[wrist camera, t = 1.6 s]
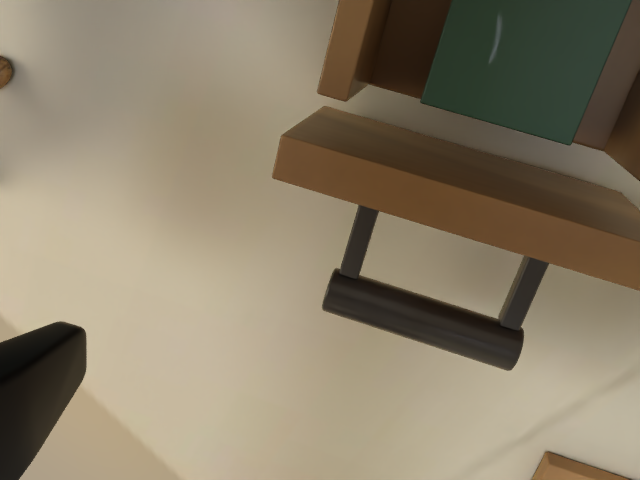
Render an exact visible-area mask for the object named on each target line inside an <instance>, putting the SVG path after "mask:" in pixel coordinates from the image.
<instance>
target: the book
mask: <svg viewBox="0 0 640 480" xmlns="http://www.w3.org/2000/svg"><path fill="white" fill-rule="evenodd" d="M631 2H632V0H452V1H451V4H450V7H449V10H448V14H447V17H446V20H445V23H444V26H443V30H442V33H441V36H440V39H439V42H438V46H437V49H436V52H435V55H434V58H433V62H432V65H431V68H430V71H429V74H428V78H427V81H426V84H425V87H424V90H423V94H422V97H421V100H420V102H421V103H423V104H426V105H430V106H433V107H437V108H440V109H444V110H447V111H451V112H454V113H458V114H461V115H465V116H468V117H472V118H475V119H479V120H482V121H485V122H489V123H492V124H496V125H499V126H503V127H506V128H510V129H513V130H517V131H520V132H524V133H527V134H531V135H534V136H538V137H541V138H545V139H548V140H552V141H555V142H559V143H562V144H566V145H571V144H572V141H573V139H574V137H575V134H576V132H577V130H578V127H579V125H580V123H581V120H582V118H583V115H584V113H585V111H586V108H587V106H588V104H589V101H590V99H591V97H592V94H593V92H594V89H595V87H596V85H597V82H598V80H599V78H600V75H601V73H602V71H603V68H604V66H605V63H606V61H607V59H608V56H609V54H610V52H611V49H612V47H613V44H614V42H615V40H616V37H617V35H618V33H619V30H620V28H621V26H622V23H623V21H624V18H625V16H626V14H627V11H628V9H629V7H630V4H631Z"/></svg>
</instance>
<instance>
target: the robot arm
mask: <svg viewBox="0 0 640 480" xmlns="http://www.w3.org/2000/svg"><path fill="white" fill-rule="evenodd" d="M85 372H86V332H85V330H84V329H83V328H82V327H79V326H76V325H73V324H70V323H66V322H56V323H53V324H50V325H47V326H44V327H42V328H39V329H36V330H33V331H31V332H28V333H25V334H22V335H20V336H17V337H14V338H12V339H9V340H6V341H3V342H1V343H0V480H19V479H20V477H21V476H22V475H23V473H24V472H25V470H26V469H27V468H28V466H29V465H30V464H31V462H32V461H33V459H34V458H35V456H36V455H37V453H38V452H39V450H40V448H41V447H42V445H43V444H44V442H45V440H46V439H47V437H48V436H49V434H50V432H51V431H52V429H53V427H54V426H55V424H56V423H57V421H58V419H59V418H60V416H61V415H62V413H63V411H64V410H65V408H66V406H67V405H68V403H69V402H70V400H71V398H72V397H73V395H74V393H75V392H76V390H77V389H78V387H79V386H80V384H81V382H82V380H83V378H84V376H85Z"/></svg>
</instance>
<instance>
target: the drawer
mask: <svg viewBox="0 0 640 480" xmlns="http://www.w3.org/2000/svg"><path fill="white" fill-rule="evenodd" d="M451 1H452V0H339V3H338V7H337V11H336V15H335V19H334V24H333V28H332V32H331V36H330V40H329V44H328V48H327V52H326V56H325V60H324V65H323V69H322V73H321V77H320V81H319V85H318V89H317V93H318V94H320V95H324V96H327V97H331V98H334V99H338V100H341V101H345V102H346V101H348V100H349V99H350V98H352V97H353V96H354V95H356V94H357V93H358V92H359V91H361V90H362V89H363V88H364V87H366V86H367V85H368V84H370V85H373V86H377V87H380V88H384V89H387V90H391V91H394V92H398V93H401V94H405V95H408V96H412V97H415V98H419V99H421V97H422V94H423V90H424V87H425V84H426V81H427V78H428V74H429V71H430V68H431V65H432V62H433V58H434V55H435V52H436V49H437V46H438V42H439V39H440V36H441V33H442V30H443V26H444V23H445V20H446V17H447V14H448V10H449V7H450V4H451ZM572 142H573V143H576V144H580V145H583V146H587V147H590V148H594V149H597V150H601V151H604V152H605V153H606V154H608V155H609V156H610V157H611V158H612V159H614V160H615V161H616V162H617V163H618V164H620V165H621V166H622V167H623V168H624V169H626V170H627V171H628V172H629V173H630V174H632V175H633V176H634V177H635V178H636V179H638V180H639V181H640V0H632V2H631V4H630V7H629V9H628V11H627V14H626V16H625V18H624V21H623V23H622V26H621V28H620V30H619V33H618V35H617V37H616V40H615V42H614V44H613V47H612V49H611V52H610V54H609V56H608V59H607V61H606V63H605V66H604V68H603V71H602V73H601V75H600V78H599V80H598V82H597V85H596V87H595V89H594V92H593V94H592V97H591V99H590V101H589V104H588V106H587V108H586V111H585V113H584V115H583V118H582V120H581V123H580V125H579V127H578V130H577V132H576V134H575V137H574V139H573V141H572ZM272 178H273V179H277V180H280V181H283V182H286V183H290V184H293V185H296V186H299V187H303V188H306V189H309V190H312V191H316V192H319V193H322V194H325V195H329V196H332V197H335V198H339V199H342V200H345V201H348V202H352V203H355V204H358V205H359V206H358V210H357V213H356V217H355V220H354V223H353V227H352V230H351V234H350V237H349V241H348V244H347V247H346V251H345V254H344V258H343V261H342V264H341V268H340V269H339V268H335V269H334V271H333V273H332V275H331V278H330V281H329V284H328V287H327V290H326V293H325V297H324V300H323V304H322V310H324V311H326V312H329V313H332V314H335V315H338V316H341V317H344V318H348V319H351V320H354V321H357V322H360V323H363V324H366V325H369V326H372V327H375V328H378V329H381V330H384V331H387V332H390V333H394V334H397V335H400V336H403V337H406V338H409V339H412V340H415V341H418V342H421V343H424V344H427V345H430V346H433V347H436V348H439V349H443V350H446V351H449V352H452V353H455V354H458V355H461V356H464V357H467V358H470V359H473V360H476V361H479V362H482V363H485V364H489V365H492V366H495V367H498V368H501V369H504V370H507V371H509V370H512V369H513V368H514V366H515V365H516V363H517V361H518V359H519V356H520V354H521V350H522V347H523V341H524V330H523V328H522V327H521V325H522V323H523V321H524V319H525V316H526V314H527V312H528V310H529V307H530V305H531V303H532V301H533V298H534V296H535V294H536V291H537V289H538V287H539V285H540V282H541V280H542V278H543V276H544V273H545V271H546V269H547V267H548V264H549V263H550V264H554V265H557V266H560V267H564V268H567V269H570V270H573V271H577V272H580V273H583V274H586V275H590V276H593V277H596V278H599V279H603V280H606V281H609V282H612V283H616V284H619V285H622V286H625V287H629V288H632V289H635V290H639V291H640V211H639V210H638V209H637V208H636V207H635V206H634V205H633V204H632V203H631V202H630V201H629V200H628V199H627V198H626V197H625V196H624V195H623V194H622V193H621V192H618V191H615V190H612V189H608V188H605V187H601V186H598V185H594V184H591V183H588V182H584V181H581V180H577V179H574V178H570V177H567V176H564V175H560V174H557V173H553V172H550V171H546V170H543V169H540V168H536V167H533V166H529V165H526V164H523V163H519V162H516V161H512V160H509V159H505V158H502V157H499V156H495V155H492V154H488V153H485V152H481V151H478V150H475V149H471V148H468V147H464V146H461V145H457V144H454V143H451V142H447V141H444V140H440V139H437V138H433V137H430V136H427V135H423V134H420V133H416V132H413V131H409V130H406V129H403V128H399V127H396V126H392V125H389V124H385V123H382V122H379V121H375V120H372V119H368V118H365V117H361V116H358V115H355V114H351V113H348V112H344V111H341V110H337V109H334V108H331V107H327V106H324V107H322V108H321V109H319V110H318V111H316V112H315V113H313V114H312V115H310V116H309V117H307V118H306V119H305V120H303V121H302V122H300V123H299V124H297V125H296V126H294V127H293V128H291V129H290V130H288V131H287V132H285V133H284V134H283V135H282V136H281V139H280V143H279V147H278V152H277V156H276V161H275V165H274V169H273V174H272ZM379 211H381V212H384V213H387V214H391V215H394V216H397V217H400V218H404V219H407V220H410V221H414V222H417V223H420V224H423V225H427V226H430V227H433V228H436V229H440V230H443V231H446V232H449V233H453V234H456V235H459V236H462V237H466V238H469V239H472V240H475V241H479V242H482V243H485V244H489V245H492V246H495V247H498V248H502V249H505V250H508V251H511V252H515V253H518V254H521V255H524V257H523V260H522V262H521V264H520V267H519V269H518V272H517V274H516V276H515V279H514V281H513V283H512V286H511V288H510V290H509V293H508V295H507V298H506V300H505V302H504V305H503V307H502V309H501V312H500V314H499V319H496V318H493V317H490V316H486V315H483V314H480V313H477V312H474V311H471V310H468V309H464V308H461V307H458V306H455V305H452V304H449V303H446V302H442V301H439V300H436V299H433V298H430V297H427V296H424V295H420V294H417V293H414V292H411V291H408V290H405V289H402V288H398V287H395V286H392V285H389V284H386V283H383V282H380V281H377V280H373V279H370V278H367V277H364V276H361V275H359V274H360V271H361V268H362V265H363V261H364V258H365V255H366V252H367V248H368V245H369V242H370V239H371V235H372V232H373V229H374V226H375V222H376V219H377V216H378V213H379Z"/></svg>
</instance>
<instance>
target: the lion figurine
mask: <svg viewBox="0 0 640 480" xmlns="http://www.w3.org/2000/svg"><path fill="white" fill-rule="evenodd" d="M11 74H12V69H11V67H10V64H9V63H8V61H7V60H6V59H5V58H3V57H0V88H2V87H3V86H4V85H6V83H7V82H8V81H9V80H10V77H11Z"/></svg>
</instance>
